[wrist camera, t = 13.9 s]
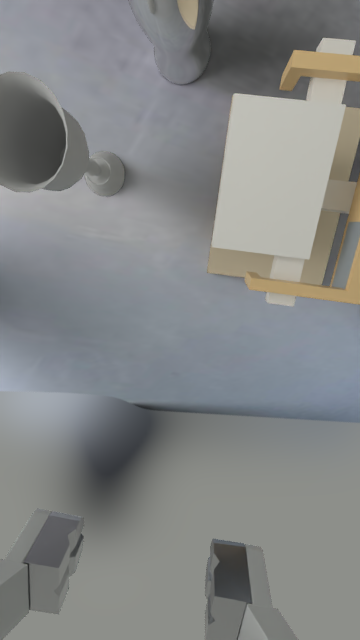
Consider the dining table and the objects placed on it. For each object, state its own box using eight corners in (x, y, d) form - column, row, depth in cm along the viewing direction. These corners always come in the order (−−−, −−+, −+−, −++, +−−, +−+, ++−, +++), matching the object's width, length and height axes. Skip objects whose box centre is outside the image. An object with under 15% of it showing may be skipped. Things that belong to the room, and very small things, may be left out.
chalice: (125, 212, 40) (60, 203, 23) (73, 198, 40) (-31, 179, 23) (137, 148, 38) (75, 86, 20) (82, 133, 38) (-26, 59, 20)
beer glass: (227, 58, 34) (239, -62, 20) (175, 104, 36) (152, 25, 22) (189, -5, 33) (172, -181, 19) (137, 46, 35) (85, -78, 20)
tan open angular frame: (244, 281, 31) (249, 289, 27) (282, 75, 26) (294, 49, 22) (345, 294, 30) (364, 305, 27) (404, 87, 25) (438, 63, 21)
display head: (206, 273, 41) (204, 297, 28) (232, 97, 35) (244, 20, 22) (316, 287, 40) (368, 320, 27) (361, 110, 34) (456, 39, 21)
